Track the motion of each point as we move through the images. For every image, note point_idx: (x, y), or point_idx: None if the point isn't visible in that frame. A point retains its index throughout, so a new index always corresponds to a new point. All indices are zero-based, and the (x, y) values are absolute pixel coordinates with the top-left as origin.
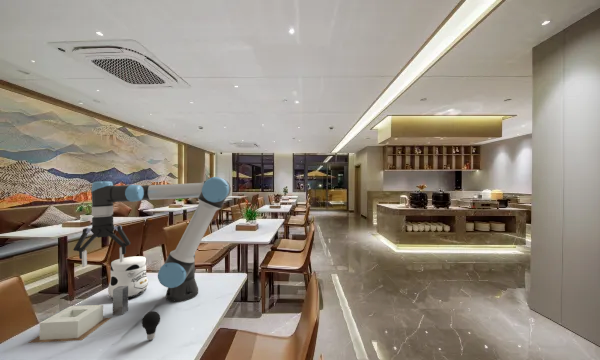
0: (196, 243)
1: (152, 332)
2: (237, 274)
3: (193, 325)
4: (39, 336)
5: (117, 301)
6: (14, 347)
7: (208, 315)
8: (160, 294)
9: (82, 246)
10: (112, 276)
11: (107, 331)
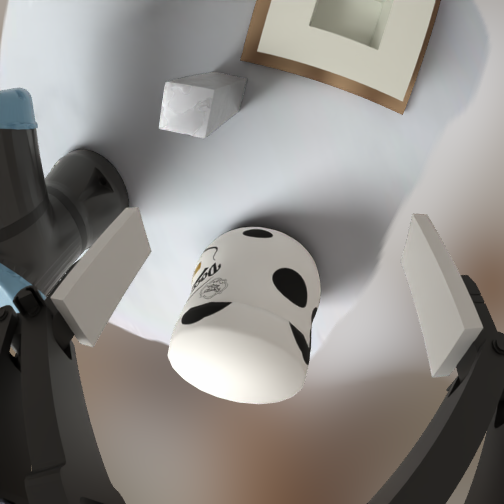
0: None
1: None
2: None
3: (30, 11)
4: (431, 19)
5: (210, 79)
6: (468, 14)
7: (13, 57)
8: (155, 226)
9: (497, 395)
10: (296, 305)
11: None
